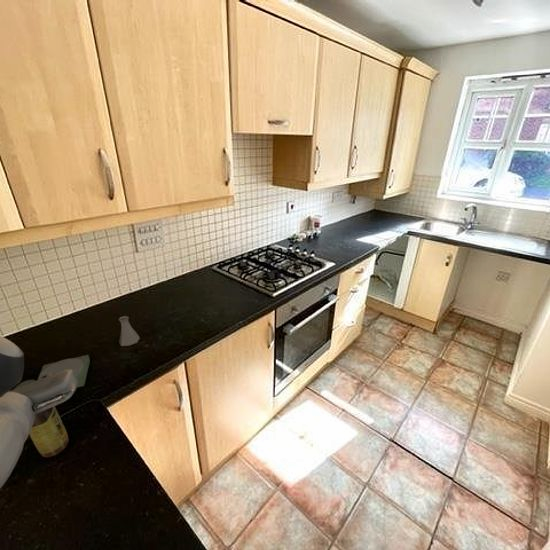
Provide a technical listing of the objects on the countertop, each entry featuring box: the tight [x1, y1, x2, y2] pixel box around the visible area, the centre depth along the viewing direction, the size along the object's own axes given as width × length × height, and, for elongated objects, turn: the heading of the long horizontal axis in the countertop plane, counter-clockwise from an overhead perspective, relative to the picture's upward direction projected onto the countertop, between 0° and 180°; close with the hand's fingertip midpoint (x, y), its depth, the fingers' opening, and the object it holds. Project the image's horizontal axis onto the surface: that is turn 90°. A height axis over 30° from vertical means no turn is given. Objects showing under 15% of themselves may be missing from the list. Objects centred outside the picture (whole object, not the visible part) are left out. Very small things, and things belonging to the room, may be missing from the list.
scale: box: [36, 354, 91, 389], centre depth 96 cm, size 13×14×3 cm
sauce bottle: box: [14, 379, 69, 458], centre depth 71 cm, size 6×6×20 cm
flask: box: [118, 315, 140, 347], centre depth 112 cm, size 7×7×10 cm
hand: (21, 387), depth 60 cm, fingers open, 8 cm apart
